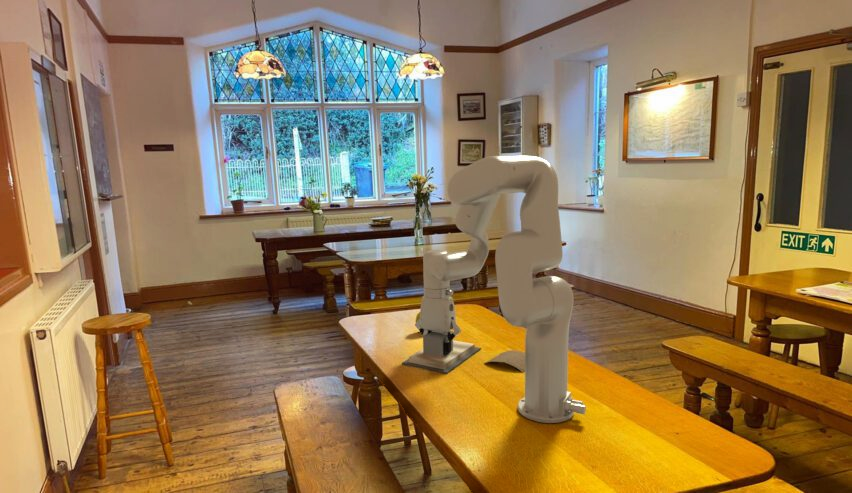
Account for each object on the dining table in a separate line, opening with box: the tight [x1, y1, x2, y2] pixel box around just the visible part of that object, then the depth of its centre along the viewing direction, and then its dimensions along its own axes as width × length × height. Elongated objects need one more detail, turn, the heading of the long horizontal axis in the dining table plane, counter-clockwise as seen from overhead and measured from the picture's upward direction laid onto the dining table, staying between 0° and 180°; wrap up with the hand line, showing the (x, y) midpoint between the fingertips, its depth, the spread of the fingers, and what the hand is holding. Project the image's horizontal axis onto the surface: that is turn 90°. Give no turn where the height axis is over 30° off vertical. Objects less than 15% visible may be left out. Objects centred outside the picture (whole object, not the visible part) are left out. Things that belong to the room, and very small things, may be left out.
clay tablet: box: [485, 350, 525, 373], centre depth 149 cm, size 14×10×3 cm
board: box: [401, 339, 482, 375], centre depth 155 cm, size 22×15×2 cm
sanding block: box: [422, 330, 454, 359], centre depth 152 cm, size 8×6×6 cm
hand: (437, 351), depth 152 cm, fingers closed on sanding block, 5 cm apart
